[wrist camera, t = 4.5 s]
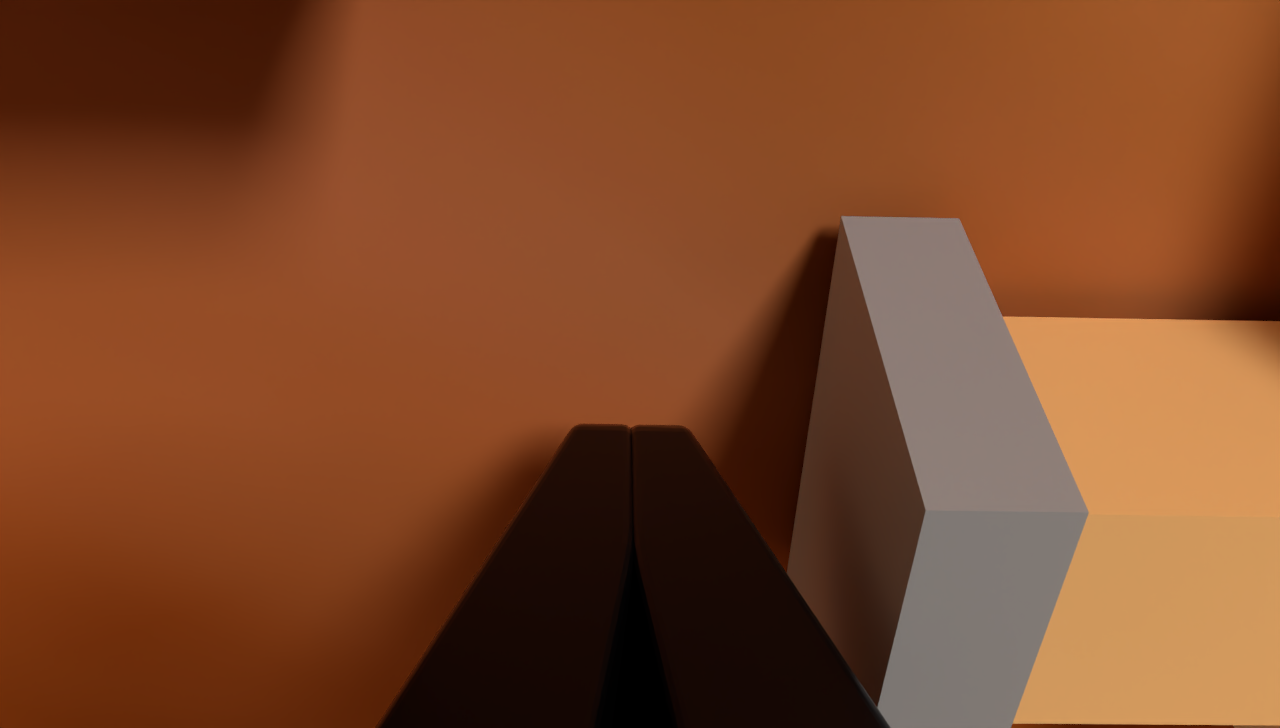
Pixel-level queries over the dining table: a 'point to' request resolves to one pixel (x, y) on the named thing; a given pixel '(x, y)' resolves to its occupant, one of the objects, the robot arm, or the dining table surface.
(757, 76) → the dining table surface
